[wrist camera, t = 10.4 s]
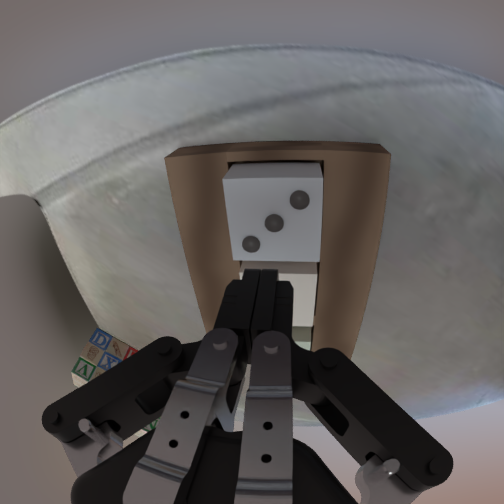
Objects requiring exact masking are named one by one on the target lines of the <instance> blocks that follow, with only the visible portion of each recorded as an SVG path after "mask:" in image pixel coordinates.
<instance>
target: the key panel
mask: <svg viewBox="0 0 504 504" xmlns="http://www.w3.org/2000/svg"><path fill="white" fill-rule="evenodd" d="M164 159H165V164H166V169H167V175H168V180H169V185H170V190H171V194H172V199H173V204H174V209H175V213H176V218H177V222H178V227H179V231H180V235H181V239H182V244H183V248H184V252H185V256H186V260H187V264H188V268H189V272H190V276H191V279H192V283H193V287H194V291H195V294H196V298H197V302H198V305H199V309H200V312H201V316H202V319H203V323H204V326H205V330H206V333H208V332H209V331H211V330H213V327H214V324H215V321H216V318H217V315H218V311H219V308H220V305H221V302H222V299H223V297H224V292H225V289H226V286H227V285H228V284H229V283H230V282H231V281H232V280H233V279H238V280H240V275H239V272H240V268H241V265H242V261H243V260H233V255H232V248H231V240H230V233H229V226H228V218H227V211H226V203H225V196H224V188H223V180H222V179H223V178H224V176H225V175H226V173H227V172H228V170H229V169H230V168H231V166H232V165H233V164H245V163H288V162H304V163H320V167H321V171H322V175H323V205H322V229H321V247H320V262H317V284H316V296H315V307H314V317H313V327H311V346H310V351H313V352H315V351H317V350H319V349H321V348H327V347H329V348H335V349H338V350H339V351H341V352H342V353H344V354H345V355H346V356H347V357H348V358H349V359H350V360H351V357H352V354H353V350H354V347H355V344H356V340H357V337H358V334H359V330H360V326H361V323H362V319H363V315H364V312H365V308H366V304H367V300H368V296H369V291H370V287H371V283H372V278H373V274H374V269H375V264H376V259H377V254H378V249H379V243H380V237H381V232H382V225H383V219H384V212H385V205H386V198H387V189H388V181H389V171H390V160H391V154H390V153H389V152H388V151H387V150H386V149H385V148H383V147H382V146H381V145H380V144H371V143H356V142H335V141H263V142H241V143H226V144H213V145H202V146H192V147H183V148H178V149H177V150H175V151H174V152H172V153H171V154H169V155H168V156H167V157H165V158H164Z"/></svg>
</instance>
